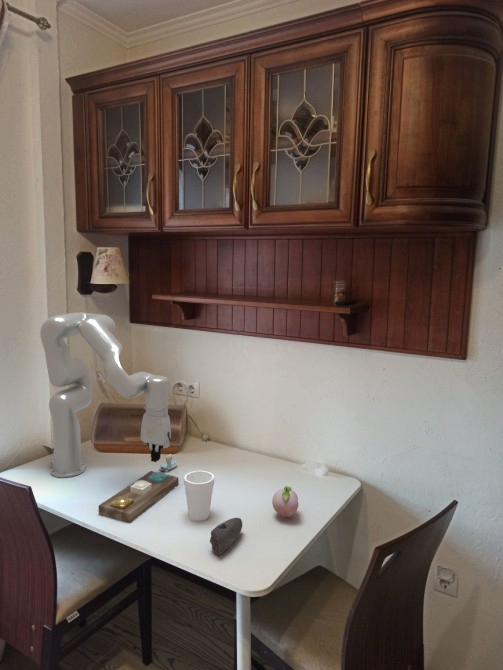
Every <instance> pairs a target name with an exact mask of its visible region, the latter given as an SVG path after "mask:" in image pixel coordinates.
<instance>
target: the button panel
mask: <svg viewBox="0 0 503 670" xmlns="http://www.w3.org/2000/svg"><path fill="white" fill-rule="evenodd" d="M154 472H155V471H154V470H153V471H147V473H145V474H144V475H142V476H141V477H140V478H138V479H136V480H135V481H134V482H132V483H130V484H129V485H127V486H126V487H124V488H123V489H121V490H120V491H119V492H117V493H115V494H114V495H112V496H111V497H109V498H108V499H106V500H105V501H103V502H102V503H100V504H98V515H100V516H104V517H107V518H110V519H114V520H117V521H120V522H125V523H127V524H128V523H129V524H130V523H132V522H134V521H135V520H136V519H137V518H139V517H140V516H141V515H142V514H143V513H145V512H147V511H148V510H149V509H150V508H151V507H153V506H154V505H155V504H156V503H158V502H159V501H161V499H163V498H164V497H165V496H167V495H168V494H169V493H170V492H172V491H173V490H175V489H176V488H177V487H179V485H180V483H179V480H180V479H179V477H178V476H175V475H170V474H168V478H167V479H166V480H164V481H163V482H161V483H157V482H152V481H148V477H149V476H151V475H152V474H153V473H154ZM140 480H144V481H147V482H148V483H152V490H150V491H149V492H148V493H146V494H145V495H144V496H141V495H137V494H133V493H130V486H132V485H133V484H134V483H135V482H137V481H140ZM175 487H176V488H175ZM119 496H127V497H129V498H131V499H133V504H131V505H130V506H128V507H127V508H126V509H124V510H122V509H118V508H115V507H111V502H113V501H114V500H115V499H116V498H117V497H119Z"/></svg>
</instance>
